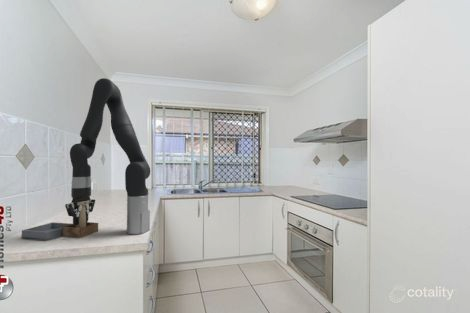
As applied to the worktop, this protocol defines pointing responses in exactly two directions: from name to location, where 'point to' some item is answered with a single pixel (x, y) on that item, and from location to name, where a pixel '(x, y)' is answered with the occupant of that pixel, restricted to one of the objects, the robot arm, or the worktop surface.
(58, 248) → the worktop surface
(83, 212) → the handle
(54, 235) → the tray
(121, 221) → the worktop surface
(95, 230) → the brown wooden box
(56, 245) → the worktop surface
